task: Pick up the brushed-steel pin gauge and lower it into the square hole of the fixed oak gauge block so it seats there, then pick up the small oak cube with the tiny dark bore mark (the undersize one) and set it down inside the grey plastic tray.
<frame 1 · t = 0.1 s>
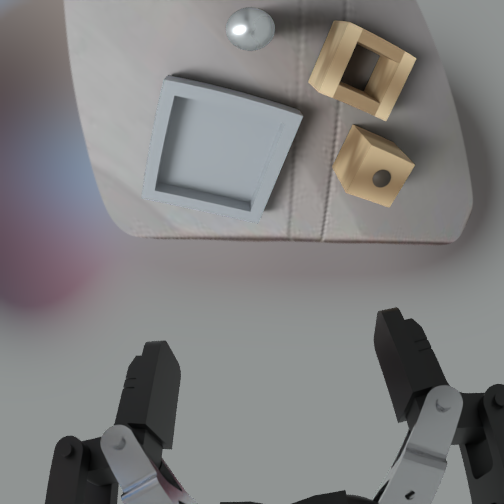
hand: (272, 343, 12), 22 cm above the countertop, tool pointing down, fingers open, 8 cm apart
tray: (216, 148, 29), on the countertop
oak block: (353, 64, 24), on the countertop
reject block: (363, 154, 30), on the countertop
pin gauge: (244, 25, 21), on the countertop
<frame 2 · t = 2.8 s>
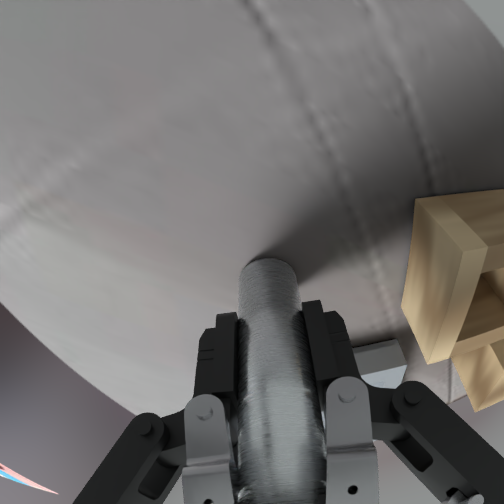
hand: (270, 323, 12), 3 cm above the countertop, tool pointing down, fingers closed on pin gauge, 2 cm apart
tray: (304, 404, 21), on the countertop
oak block: (460, 249, 14), on the countertop
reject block: (486, 328, 18), on the countertop
pin gauge: (267, 281, 15), on the countertop, touching gripper
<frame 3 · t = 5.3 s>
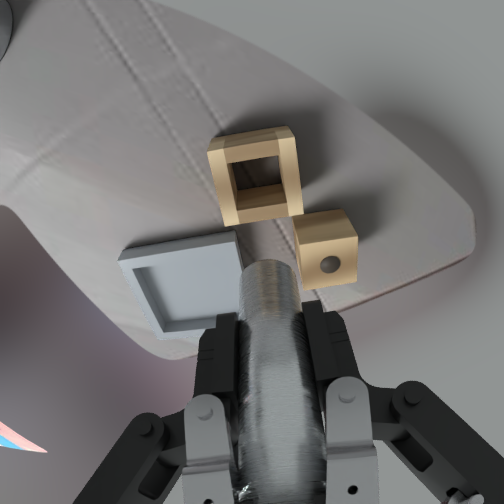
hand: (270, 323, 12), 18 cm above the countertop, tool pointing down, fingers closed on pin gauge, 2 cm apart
tray: (192, 286, 35), on the countertop
oak block: (255, 166, 27), on the countertop
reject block: (319, 234, 32), on the countertop
pin gauge: (267, 282, 15), point 15 cm above the countertop, touching gripper
when the fingers open (4 cm above the countertop, at t = 7.9 s): pin gauge drops 1 cm, resting in oak block.
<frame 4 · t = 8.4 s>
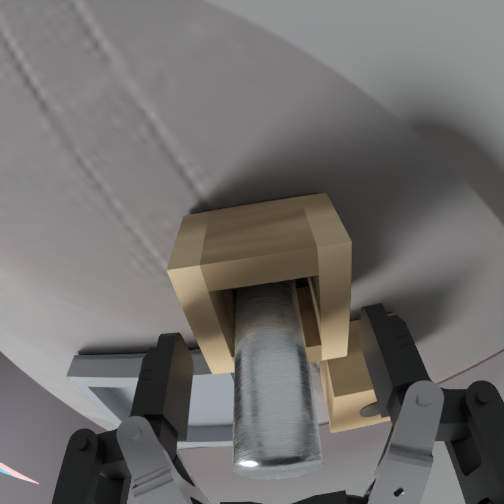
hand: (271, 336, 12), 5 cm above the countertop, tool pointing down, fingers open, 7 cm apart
tray: (173, 398, 23), on the countertop
oak block: (265, 261, 16), on the countertop
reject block: (356, 344, 20), on the countertop
pin gauge: (264, 263, 16), resting in oak block
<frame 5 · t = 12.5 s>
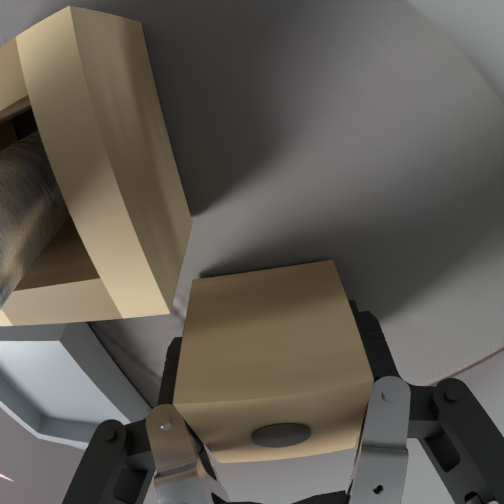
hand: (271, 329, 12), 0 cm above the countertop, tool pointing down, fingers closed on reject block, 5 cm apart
tray: (52, 382, 16), on the countertop
oak block: (72, 154, 9), on the countertop
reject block: (271, 319, 13), on the countertop, touching gripper
pin gauge: (72, 156, 9), resting in oak block
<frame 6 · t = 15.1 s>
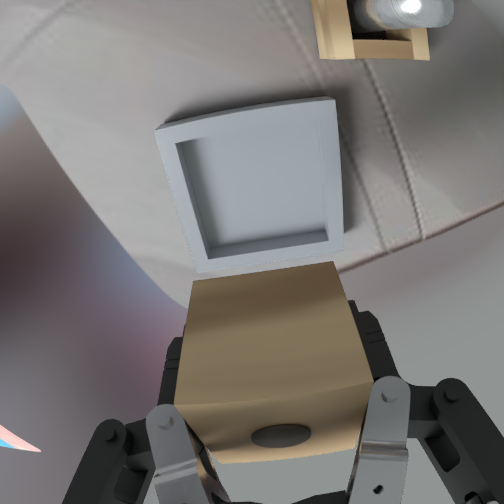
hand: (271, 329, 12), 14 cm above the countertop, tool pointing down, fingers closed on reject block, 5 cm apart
tray: (257, 183, 24), on the countertop
oak block: (357, 15, 17), on the countertop
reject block: (271, 320, 13), point 14 cm above the countertop, touching gripper
pin gauge: (356, 16, 17), resting in oak block
when the fingers open (2 cm above the countertop, at t = 17.6 s): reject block drops 1 cm, resting on tray.
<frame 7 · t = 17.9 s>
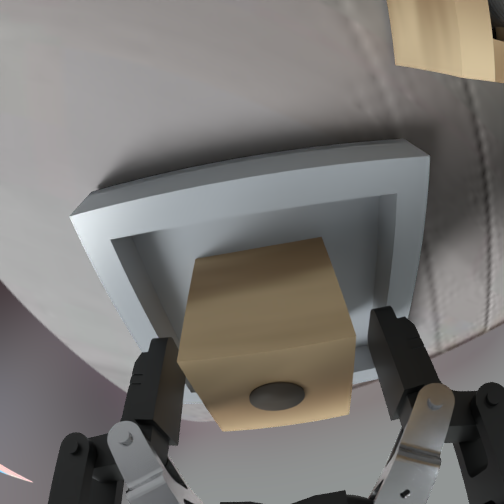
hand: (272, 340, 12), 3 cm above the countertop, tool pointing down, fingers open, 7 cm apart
tray: (267, 288, 14), on the countertop
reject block: (268, 295, 14), resting on tray
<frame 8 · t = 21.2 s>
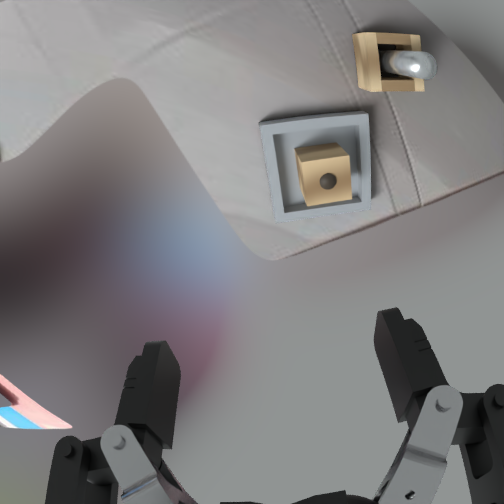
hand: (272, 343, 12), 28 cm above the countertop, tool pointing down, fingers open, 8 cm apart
tray: (317, 164, 37), on the countertop
oak block: (381, 60, 29), on the countertop
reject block: (318, 165, 36), resting on tray
pin gauge: (381, 60, 29), resting in oak block
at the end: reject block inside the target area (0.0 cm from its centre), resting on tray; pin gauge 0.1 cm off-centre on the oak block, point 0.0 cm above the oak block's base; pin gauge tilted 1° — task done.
